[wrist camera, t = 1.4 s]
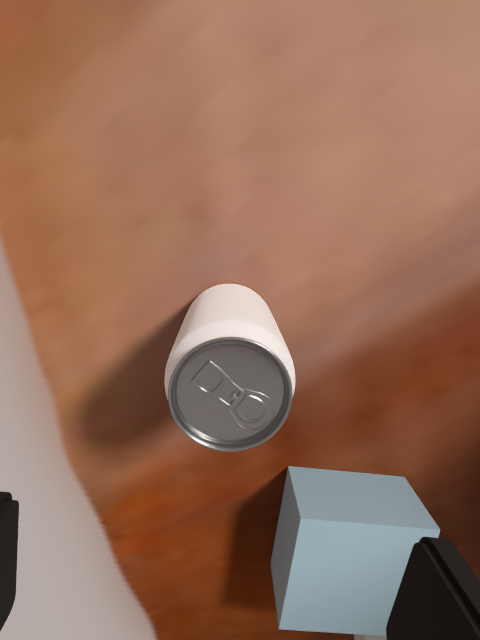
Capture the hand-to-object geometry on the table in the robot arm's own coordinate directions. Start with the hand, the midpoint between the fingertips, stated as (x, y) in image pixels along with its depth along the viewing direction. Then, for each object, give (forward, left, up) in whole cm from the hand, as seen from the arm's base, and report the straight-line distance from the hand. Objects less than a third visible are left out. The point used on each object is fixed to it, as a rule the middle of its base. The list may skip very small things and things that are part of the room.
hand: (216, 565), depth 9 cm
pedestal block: (-12, +16, -21) cm, 29 cm away
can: (0, 0, -21) cm, 21 cm away
